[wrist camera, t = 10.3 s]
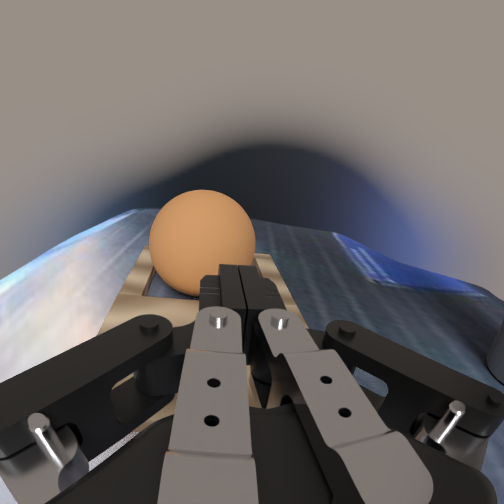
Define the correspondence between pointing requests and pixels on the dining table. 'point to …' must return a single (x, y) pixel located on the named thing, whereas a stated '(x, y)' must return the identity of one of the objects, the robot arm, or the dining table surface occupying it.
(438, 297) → the dining table surface
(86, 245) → the dining table surface
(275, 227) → the dining table surface
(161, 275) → the ball
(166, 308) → the board
